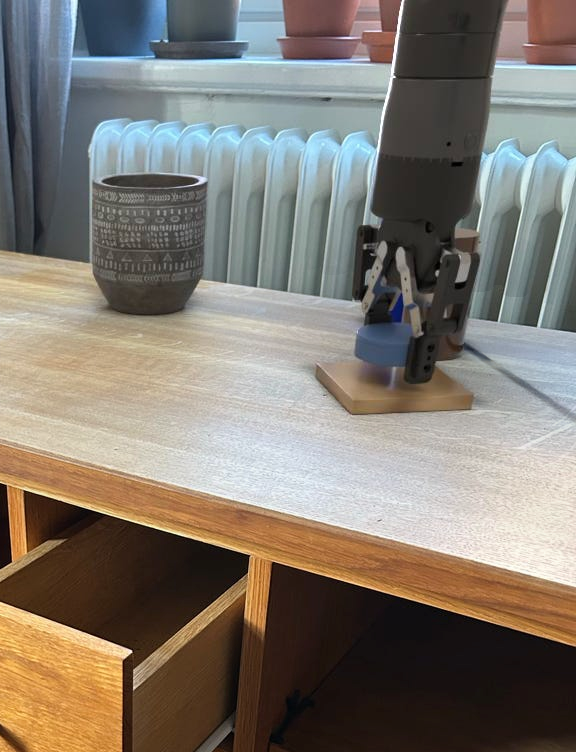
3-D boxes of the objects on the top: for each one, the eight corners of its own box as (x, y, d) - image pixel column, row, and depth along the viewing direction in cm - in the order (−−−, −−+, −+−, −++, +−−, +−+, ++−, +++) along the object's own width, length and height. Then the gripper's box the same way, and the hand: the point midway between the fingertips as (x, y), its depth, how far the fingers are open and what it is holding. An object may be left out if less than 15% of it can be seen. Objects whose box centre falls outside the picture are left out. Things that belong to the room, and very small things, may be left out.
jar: (445, 341, 94) (468, 225, 88) (472, 359, 89) (497, 237, 83) (387, 343, 93) (405, 227, 88) (410, 361, 88) (431, 239, 83)
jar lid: (351, 364, 78) (354, 341, 77) (356, 342, 83) (358, 320, 82) (434, 369, 76) (438, 345, 75) (434, 346, 81) (437, 324, 80)
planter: (70, 304, 107) (67, 179, 100) (148, 287, 114) (150, 168, 107) (145, 325, 99) (148, 191, 92) (224, 305, 106) (232, 179, 99)
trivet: (422, 371, 86) (425, 358, 85) (471, 409, 77) (474, 394, 77) (314, 376, 85) (316, 362, 84) (351, 414, 77) (353, 400, 76)
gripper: (337, 140, 76) (314, 350, 85) (440, 160, 64) (400, 401, 73) (420, 136, 78) (388, 343, 87) (535, 155, 66) (484, 392, 75)
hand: (394, 369), depth 80 cm, fingers closed on jar lid, 6 cm apart
